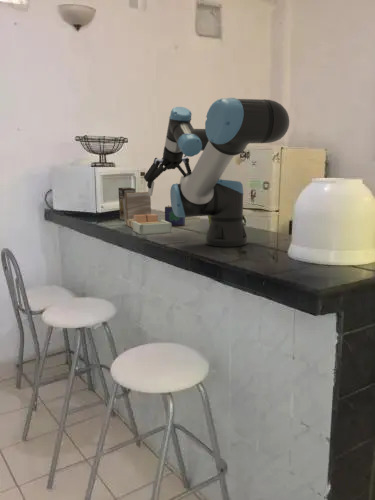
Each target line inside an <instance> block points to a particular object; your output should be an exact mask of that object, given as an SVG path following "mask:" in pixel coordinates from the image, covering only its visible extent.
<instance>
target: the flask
mask: <svg viewBox="0 0 375 500" xmlns="http://www.w3.org/2000/svg"><path fill="white" fill-rule="evenodd" d="M164 220H165V221H167V222H170V223H172V227H184V226H186V218H184V217H177V216H175V214H174V212H173V210H172V206H171V205H168V206H166V205H165V206H164Z"/></svg>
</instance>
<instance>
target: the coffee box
mask: <svg viewBox="0 0 375 500" xmlns="http://www.w3.org/2000/svg"><path fill="white" fill-rule="evenodd" d="M117 189H118V203H119V204H118V206H119V219H120V220H122V221H124V222H125V218H126V205H125V193H135V192H136V188H134V187H118V188H117Z"/></svg>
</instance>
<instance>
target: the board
mask: <svg viewBox="0 0 375 500" xmlns="http://www.w3.org/2000/svg"><path fill="white" fill-rule="evenodd" d="M133 222H134V219H130V220H128V219H126V218H125V221H124V223H125V225H126V226H128V227H129V228H131V229H133ZM140 224H142V225H145V224H160V220H158V222H146V223H140Z"/></svg>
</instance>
